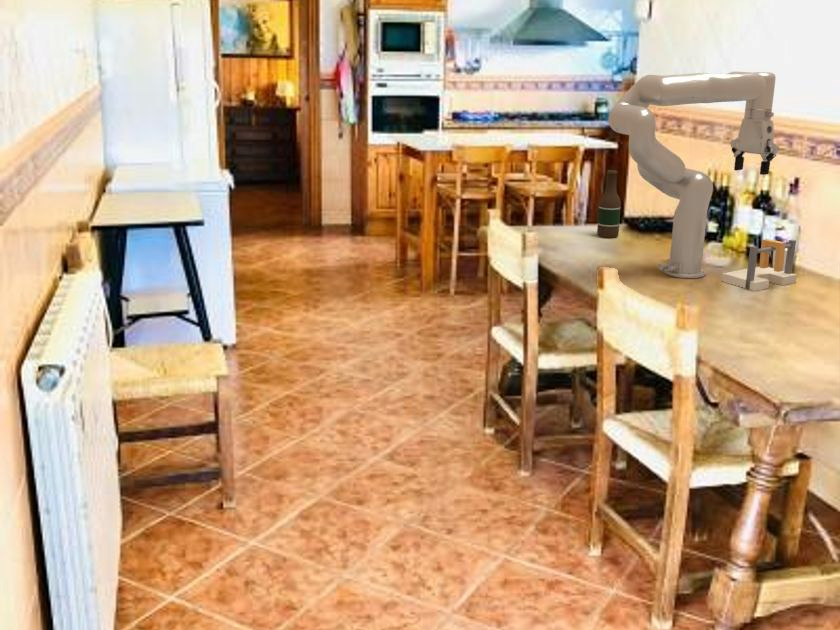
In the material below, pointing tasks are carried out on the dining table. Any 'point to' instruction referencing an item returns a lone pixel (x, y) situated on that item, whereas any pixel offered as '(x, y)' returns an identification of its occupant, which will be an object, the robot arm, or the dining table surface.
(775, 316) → the dining table surface
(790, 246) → the hanging rack
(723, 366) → the dining table surface
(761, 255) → the orange u-shaped block
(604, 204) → the beer bottle
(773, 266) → the beige cube
